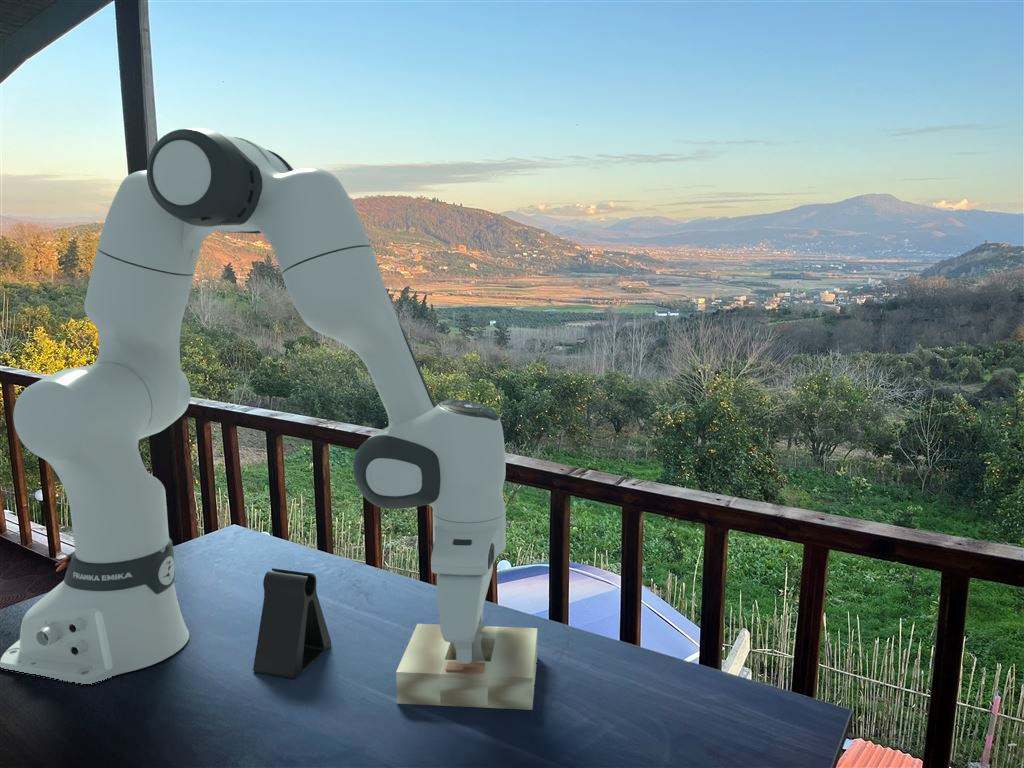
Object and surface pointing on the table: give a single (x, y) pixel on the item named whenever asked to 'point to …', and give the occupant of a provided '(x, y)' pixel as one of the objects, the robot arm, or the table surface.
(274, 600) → the phone stand
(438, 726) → the table surface
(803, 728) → the table surface
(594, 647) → the table surface
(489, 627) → the socket block
